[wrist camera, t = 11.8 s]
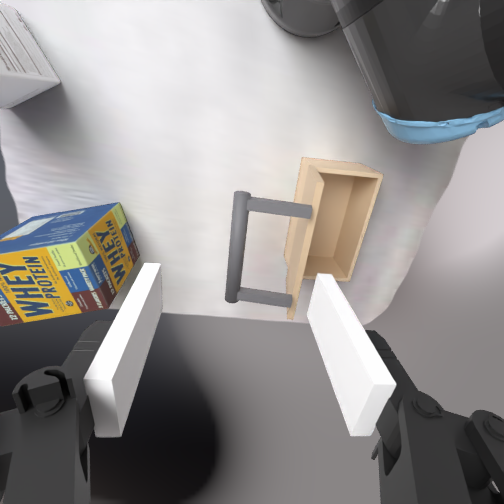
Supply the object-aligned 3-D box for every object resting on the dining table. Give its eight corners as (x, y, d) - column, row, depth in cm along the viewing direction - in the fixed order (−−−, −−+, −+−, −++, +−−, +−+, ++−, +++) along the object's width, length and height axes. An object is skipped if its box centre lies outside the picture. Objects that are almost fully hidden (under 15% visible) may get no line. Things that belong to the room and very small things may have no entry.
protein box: (141, 255, 52) (110, 309, 39) (58, 269, 53) (-2, 328, 39) (120, 200, 48) (76, 240, 34) (29, 215, 48) (-52, 262, 34)
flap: (314, 165, 39) (246, 156, 39) (326, 185, 29) (234, 173, 29) (290, 279, 47) (235, 271, 48) (293, 326, 37) (222, 315, 37)
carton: (301, 157, 46) (314, 167, 39) (360, 163, 47) (383, 174, 40) (283, 255, 54) (291, 278, 47) (334, 258, 56) (349, 281, 48)
